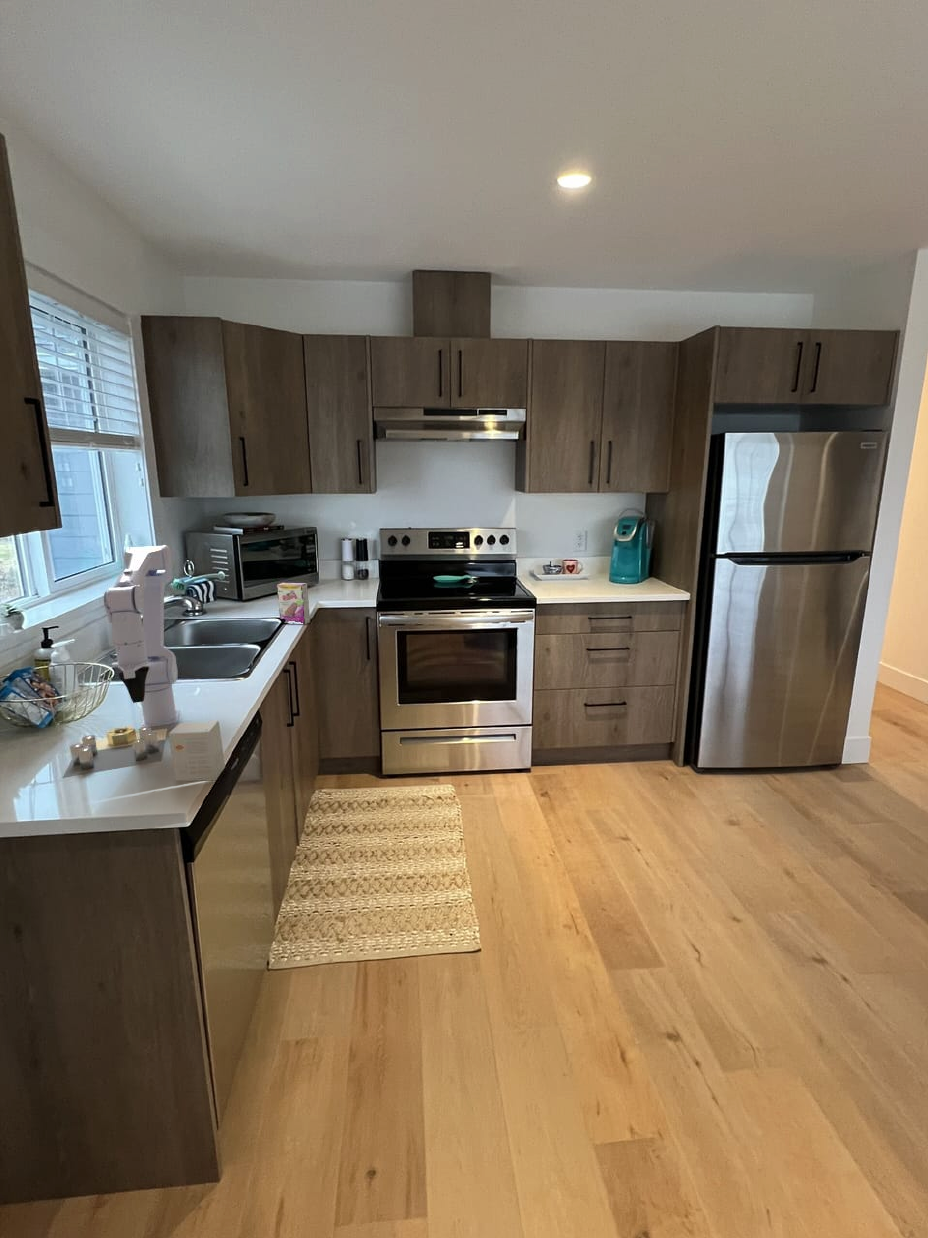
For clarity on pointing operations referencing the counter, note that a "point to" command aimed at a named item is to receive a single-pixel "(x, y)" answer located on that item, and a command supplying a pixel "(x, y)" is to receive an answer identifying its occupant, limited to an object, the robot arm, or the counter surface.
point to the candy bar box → (294, 602)
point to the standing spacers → (88, 749)
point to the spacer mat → (117, 756)
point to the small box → (197, 751)
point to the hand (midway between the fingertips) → (138, 701)
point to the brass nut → (121, 736)
